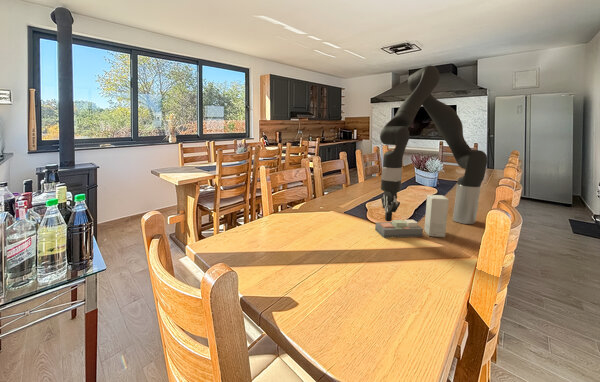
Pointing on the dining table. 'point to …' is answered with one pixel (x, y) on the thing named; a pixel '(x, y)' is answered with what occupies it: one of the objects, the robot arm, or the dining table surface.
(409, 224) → the key ivory
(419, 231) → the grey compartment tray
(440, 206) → the skincare box
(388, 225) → the key coral
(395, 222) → the key sage
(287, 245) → the dining table surface
